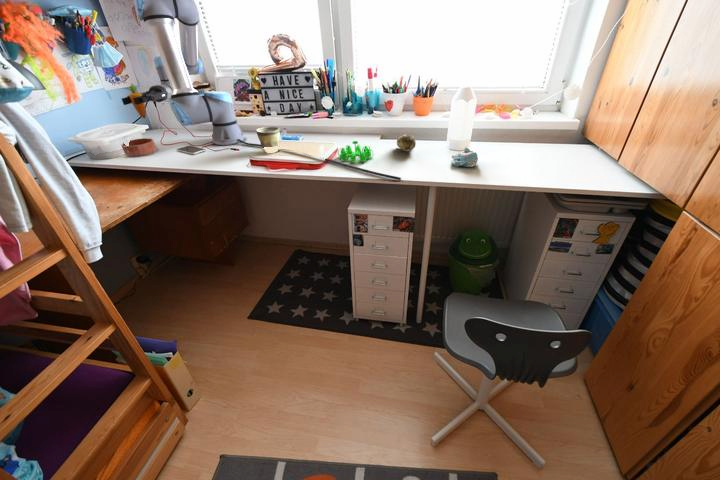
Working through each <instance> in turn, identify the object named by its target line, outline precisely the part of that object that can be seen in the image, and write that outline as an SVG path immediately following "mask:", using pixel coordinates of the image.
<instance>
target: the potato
mask: <svg viewBox="0 0 720 480" xmlns="http://www.w3.org/2000/svg"><path fill="white" fill-rule="evenodd" d="M416 145H417V144H416V139H415V137H414V136H413V135H411V134H403V135H401V136H400V137H398V138H397V140H396V146H397V147H398V148H399V149H400V150H402V151H403V152H410V151H412V150H414V149H415V148H416Z"/></svg>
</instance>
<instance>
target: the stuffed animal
mask: <svg viewBox="0 0 720 480" xmlns="http://www.w3.org/2000/svg"><path fill="white" fill-rule="evenodd" d="M478 161H479V157H478V153H477V152H475V151H474V150H470V148H469V147H467V146H465V147H464V150H463V151H462V153H461V152H458V153H457V154H455V155H454V154H453V155H452V156H451V159H450V162H451V164H452V165H453V166H455V167H462V166H463V167H465V168H473V167H475V166H476V165H477V164H478Z"/></svg>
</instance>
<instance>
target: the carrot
mask: <svg viewBox="0 0 720 480" xmlns="http://www.w3.org/2000/svg"><path fill="white" fill-rule="evenodd" d="M136 88H137V87H136V85H135V84H134V83H130V85H129V86H126V89H127V90H129V91H130V92H131V93H129V94H128V96H129V97H130V99H131V101H132V103H131V104H132V106H133V108H134V109H135V111H136V112H137V113H138V115H139V116H140V117H141V118H142V119H144V120H145V119H146V116H147V107H146V102H145V103H141V104H138V105H135V102H134V100H133V98H136V97H140V96H142V95H141V94H140V93H141V92H137V90H136Z"/></svg>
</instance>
